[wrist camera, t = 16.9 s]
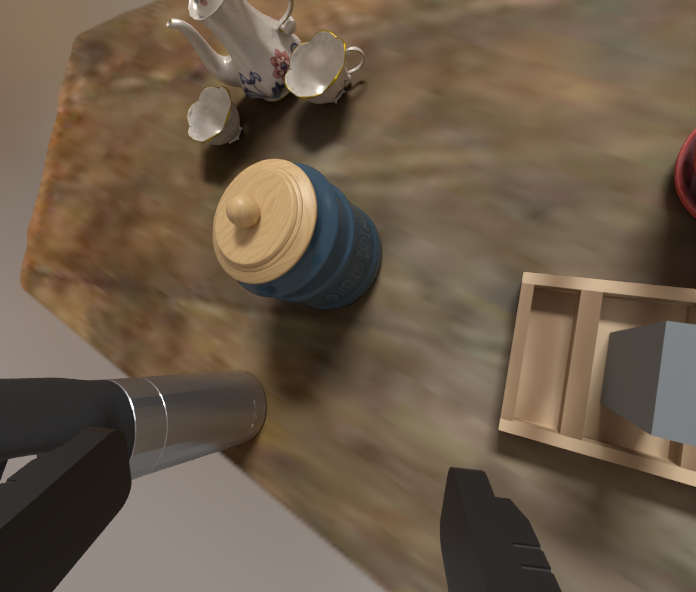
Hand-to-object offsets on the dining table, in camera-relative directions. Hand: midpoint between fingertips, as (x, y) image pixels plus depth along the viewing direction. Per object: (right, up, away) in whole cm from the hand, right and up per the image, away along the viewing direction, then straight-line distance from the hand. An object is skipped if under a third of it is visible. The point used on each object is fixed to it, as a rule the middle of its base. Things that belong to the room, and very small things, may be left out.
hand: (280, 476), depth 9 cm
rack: (+25, -2, +21) cm, 33 cm away
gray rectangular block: (+25, -2, +21) cm, 32 cm away
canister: (0, +9, +35) cm, 36 cm away
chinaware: (-8, +34, +43) cm, 56 cm away
